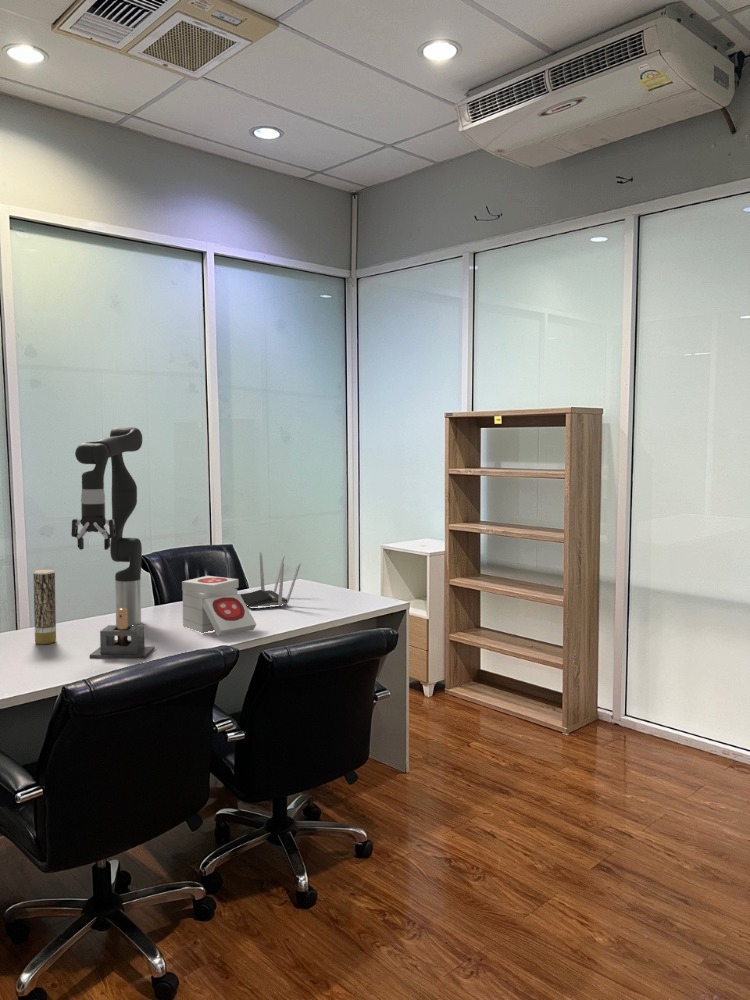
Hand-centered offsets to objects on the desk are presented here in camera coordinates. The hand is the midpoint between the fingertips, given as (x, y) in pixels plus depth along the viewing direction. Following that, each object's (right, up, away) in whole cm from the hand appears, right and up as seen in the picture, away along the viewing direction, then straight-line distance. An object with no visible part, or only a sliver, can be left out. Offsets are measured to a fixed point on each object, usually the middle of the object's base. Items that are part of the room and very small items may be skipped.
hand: (93, 549), depth 262 cm
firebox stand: (+13, -34, -8) cm, 37 cm away
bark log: (-18, -33, +4) cm, 38 cm away
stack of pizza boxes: (+37, -32, +25) cm, 55 cm away
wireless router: (+49, -28, +73) cm, 93 cm away
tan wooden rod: (+13, -33, -8) cm, 36 cm away
